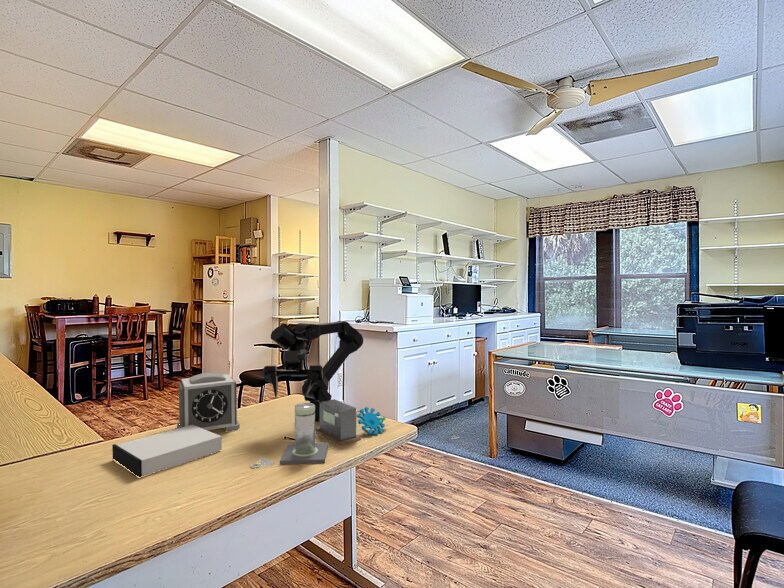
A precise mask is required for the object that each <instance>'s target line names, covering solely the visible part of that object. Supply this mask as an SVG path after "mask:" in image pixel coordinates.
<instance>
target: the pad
mask: <svg viewBox="0 0 784 588" xmlns="http://www.w3.org/2000/svg"><path fill="white" fill-rule="evenodd" d="M328 449H329V442H317V443H316V442H315V452H313V453H311V454H307V455H299V454H296V453H295V443H287V445H286V447H285V449H284V450H283V453H282V455H281V457H280V460H279V465H303V464H305V463H308V464H325V462H326V458H327V454H328Z"/></svg>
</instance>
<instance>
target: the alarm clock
mask: <svg viewBox="0 0 784 588" xmlns="http://www.w3.org/2000/svg"><path fill="white" fill-rule="evenodd" d="M237 398H238V397H237V381H236V380H235V379H234V378H233V377H232V376H231V375H229V374H228V373H226V374H222V373H218V372H202V373H200V374H196V375H193V376H191V377H188V378H187V377H186V378H181V382H178V414H179V416H178V419H179V421H178V422H177V423H176V429H178V428H182V427H185V426H189V425H195V426H197V427H200V428H202V429H205V430H207V431H210V430H218V429H222V428H223V429H224V428H225V429H224V430H226V431H228V432H233V431H232V430H234V431H239V430H240V429H239V428H241V423H240V422H239V421H238V415H237V414H238V413H237V412H238V411H237V410H238V408H237V407H238V406H237V405H238V404H237V403H238V402H237V401H238V400H237ZM179 424H180V425H179ZM238 429H239V430H238ZM226 431H225V432H226Z"/></svg>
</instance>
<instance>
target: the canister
mask: <svg viewBox="0 0 784 588" xmlns="http://www.w3.org/2000/svg"><path fill="white" fill-rule="evenodd" d="M315 430H316V421H315V404H312V403H310V402H303V403H302V402H301V403H297V404H296V405H294V444H295V453H296V454H299V455H307V454H311V453H313V452H315V443H316V433H315Z"/></svg>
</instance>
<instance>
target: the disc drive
mask: <svg viewBox="0 0 784 588" xmlns="http://www.w3.org/2000/svg"><path fill="white" fill-rule="evenodd" d="M222 438H223V437H222V435H220V434H218V433H215V432H212V431H210V430H205V429H202V428H200V427H197V426H195V425H189V426H185V427H182V428H178V429H177V428H173V429H171V430H166V431H164V432H159V433H157V434H156V433H155V434H152V435H148V436H144V437H141V438H137V439H133V440H130V441H126V442H121V443H118V444H116V443H113V444H111V445H112V446H111V447H112V460H113V459H115V460H116V461H118V462H119V463H120V464H122V465H123V466H125V467H126V468H127V469H129V470H130V471H131V472H133V473H134V474H135V475H137V476H139V477H141V476H144V475H147V474H150V473H153V472H157V471H159V470H163V469H166V468H169V469H171V468H170V467H172V468H174V467H173V466H175V467H177V466H176V465H178V466H181V465H184V464H187V463H189V461H190V462H192V461H196V460H198V458H199V459H201V458H200V457H202V458H204V457H203V456H205V457H207V455H208V456H210V455H209V454H211V453H214V454H216V453H215V452H217V453H219V452H218V451H220V450H223V449H222V448H223V447H222V446H223V445H222V444H223V443H222V442H223V441H222V440H223V439H222ZM220 452H221V451H220ZM211 455H212V454H211ZM195 459H196V460H195ZM186 462H187V463H186ZM180 464H181V465H180ZM166 470H167V469H166ZM163 471H164V470H163ZM157 473H158V472H157ZM135 475H134V476H135Z"/></svg>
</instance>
